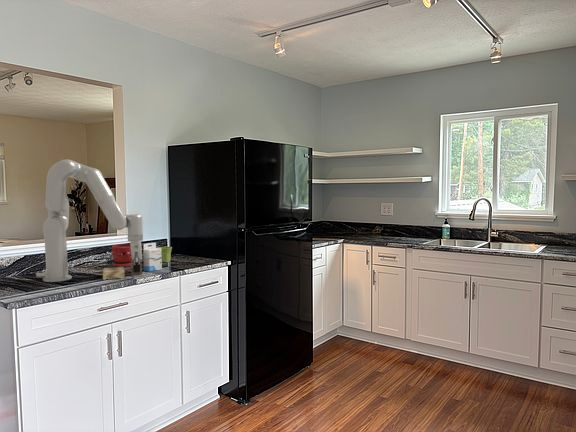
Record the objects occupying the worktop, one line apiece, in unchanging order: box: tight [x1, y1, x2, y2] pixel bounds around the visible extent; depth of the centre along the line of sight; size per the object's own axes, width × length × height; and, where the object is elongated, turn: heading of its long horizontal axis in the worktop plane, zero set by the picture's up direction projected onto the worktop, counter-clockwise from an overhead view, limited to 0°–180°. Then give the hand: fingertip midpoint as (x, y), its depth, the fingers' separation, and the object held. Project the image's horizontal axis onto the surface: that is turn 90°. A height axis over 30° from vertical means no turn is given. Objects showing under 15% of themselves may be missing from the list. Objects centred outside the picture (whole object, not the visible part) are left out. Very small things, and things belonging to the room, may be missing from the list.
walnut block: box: [130, 259, 143, 276], centre depth 228 cm, size 5×5×7 cm
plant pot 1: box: [111, 244, 133, 268], centre depth 253 cm, size 13×13×12 cm
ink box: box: [142, 242, 163, 272], centre depth 239 cm, size 9×5×15 cm, turn 145°
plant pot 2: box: [157, 246, 173, 263], centre depth 266 cm, size 9×9×9 cm
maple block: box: [102, 266, 126, 281], centre depth 222 cm, size 10×10×4 cm
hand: (136, 270), depth 229 cm, fingers open, 9 cm apart
